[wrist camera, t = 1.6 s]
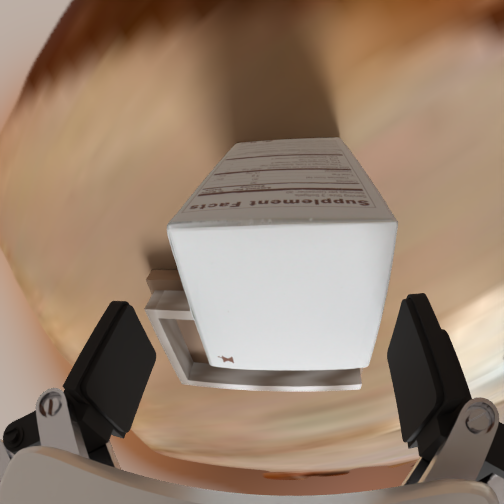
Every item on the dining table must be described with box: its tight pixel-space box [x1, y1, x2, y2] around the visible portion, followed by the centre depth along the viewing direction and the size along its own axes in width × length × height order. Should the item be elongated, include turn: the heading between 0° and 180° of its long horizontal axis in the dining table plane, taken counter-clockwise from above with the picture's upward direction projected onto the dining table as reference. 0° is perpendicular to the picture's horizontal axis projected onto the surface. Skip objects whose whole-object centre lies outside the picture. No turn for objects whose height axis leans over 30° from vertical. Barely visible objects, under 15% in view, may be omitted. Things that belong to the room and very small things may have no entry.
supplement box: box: [167, 137, 398, 370], centre depth 16 cm, size 7×7×13 cm
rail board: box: [145, 270, 363, 391], centre depth 27 cm, size 20×14×4 cm
